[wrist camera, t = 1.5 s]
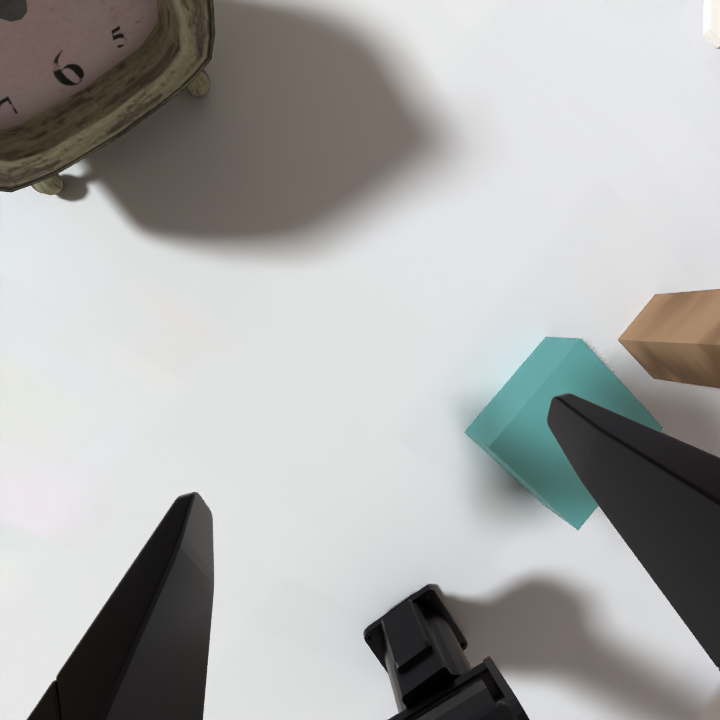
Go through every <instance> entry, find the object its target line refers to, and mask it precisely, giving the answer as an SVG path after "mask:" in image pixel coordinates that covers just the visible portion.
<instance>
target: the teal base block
mask: <svg viewBox="0 0 720 720" xmlns="http://www.w3.org/2000/svg"><path fill="white" fill-rule="evenodd" d="M564 393H571V394H574V395H576V396H578V397H581V398H583V399H585V400H588V401H590V402H592V403H595V404H597V405H599V406H601V407H604V408H606V409H608V410H611V411H613V412H615V413H618V414H620V415H622V416H624V417H627V418H629V419H631V420H634V421H636V422H638V423H641V424H643V425H645V426H647V427H650V428H652V429H654V430H657V431H659V432H660V431H661V429H662V428H663V427H662V426H661V425H660V424H659V423H658V422H657V421H656V420H655V419H654V417H653V416H652V415H651V414H650V413H649V412H648V411H647V410H646V409H645V408H644V407H643V406H642V404H641V403H640V402H639V401H638V400H637V399H636V398H635V397H634V396H633V395H632V394H631V393H630V391H629V390H628V389H627V388H626V387H625V386H624V385H623V384H622V383H621V382H620V381H619V379H618V378H617V377H616V376H615V375H614V374H613V373H612V372H611V371H610V370H609V369H608V368H607V366H606V365H605V364H604V363H603V362H602V361H601V360H600V359H599V358H598V357H597V356H596V355H595V353H594V352H593V351H592V350H591V349H590V348H589V347H588V346H587V345H586V344H585V343H584V342H583V340H582V339H576V338H556V337H545V339H544V340H543V341H542V342H541V343H540V344H539V346H538V347H537V348H536V349H535V350H534V351H533V353H532V354H531V355H530V356H529V357H528V358H527V360H526V361H525V362H524V363H523V364H522V365H521V367H520V368H519V369H518V370H517V371H516V372H515V374H514V375H513V376H512V377H511V378H510V379H509V381H508V382H507V383H506V384H505V385H504V386H503V388H502V389H501V390H500V391H499V392H498V393H497V395H496V396H495V397H494V398H493V399H492V400H491V402H490V403H489V404H488V405H487V406H486V407H485V409H484V410H483V411H482V412H481V413H480V414H479V416H478V417H477V418H476V419H475V420H474V422H473V423H472V424H471V425H470V426H469V427H468V429H467V430H466V431H465V433H466V434H467V435H468V436H469V437H470V438H471V439H472V440H473V441H475V442H476V443H477V444H478V445H479V446H480V447H481V448H482V449H483V450H484V451H485V452H487V453H488V454H489V455H490V456H491V457H492V458H493V459H494V460H495V461H496V462H498V463H499V464H500V465H501V466H502V467H503V468H504V469H505V470H506V471H507V472H508V473H510V474H511V475H512V476H513V477H514V478H515V479H516V480H517V481H518V482H519V483H520V484H522V485H523V486H524V487H525V488H526V489H527V490H528V491H529V492H530V493H531V494H533V495H534V496H535V497H536V498H537V499H538V500H539V501H540V502H541V503H542V504H543V505H545V506H546V507H547V508H548V509H550V510H551V511H553V512H554V513H555V514H557V515H558V516H559V517H561V518H562V519H564V520H565V521H566V522H568V523H569V524H570V525H572V526H573V527H574V528H576V529H577V530H579V528H580V527H581V526H582V525H583V524H584V522H585V521H586V520H587V519H588V518H589V516H590V515H591V514H592V513H593V511H594V510H595V509H596V508H597V507H598V504H597V503H596V501H595V500H594V498H593V497H592V496H591V494H590V493H589V492H588V490H587V489H586V487H585V486H584V485H583V483H582V482H581V480H580V479H579V477H578V476H577V474H576V473H575V471H574V469H573V468H572V466H571V464H570V463H569V461H568V459H567V457H566V456H565V454H564V452H563V451H562V449H561V447H560V445H559V444H558V442H557V440H556V439H555V437H554V435H553V434H552V432H551V430H550V428H549V426H548V423H547V415H548V411H549V407H550V403H551V400H552V398H553V397H554V396H557V395H561V394H564Z"/></svg>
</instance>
